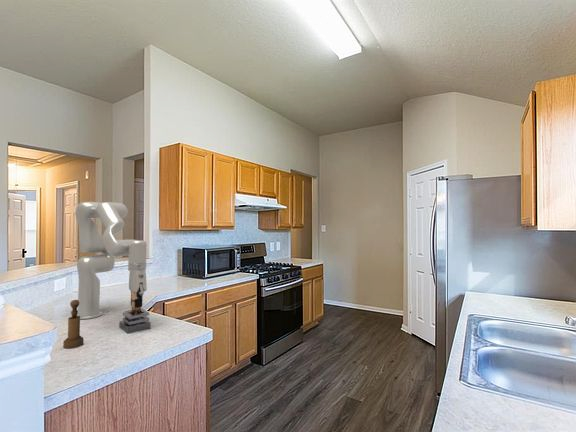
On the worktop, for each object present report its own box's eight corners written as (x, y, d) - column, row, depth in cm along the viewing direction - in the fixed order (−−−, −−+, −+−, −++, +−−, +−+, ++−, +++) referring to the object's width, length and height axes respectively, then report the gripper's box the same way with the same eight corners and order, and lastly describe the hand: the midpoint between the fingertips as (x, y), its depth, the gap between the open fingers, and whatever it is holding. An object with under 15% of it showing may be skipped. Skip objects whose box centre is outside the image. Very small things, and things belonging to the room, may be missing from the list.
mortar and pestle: (60, 349, 119) (61, 302, 120) (67, 343, 125) (68, 298, 126) (80, 347, 121) (81, 301, 121) (85, 341, 127) (87, 297, 128)
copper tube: (139, 312, 146) (139, 289, 147) (142, 314, 144) (142, 290, 144) (130, 314, 144) (130, 290, 144) (133, 316, 141) (133, 291, 141)
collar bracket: (119, 327, 145) (119, 311, 145) (141, 323, 152) (141, 307, 152) (127, 333, 137) (128, 316, 137) (150, 328, 144) (150, 312, 144)
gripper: (152, 267, 141) (151, 308, 141) (139, 264, 153) (138, 301, 152) (135, 269, 136) (134, 311, 135) (122, 265, 148) (121, 304, 147)
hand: (136, 305), depth 144 cm, fingers closed on copper tube, 4 cm apart
